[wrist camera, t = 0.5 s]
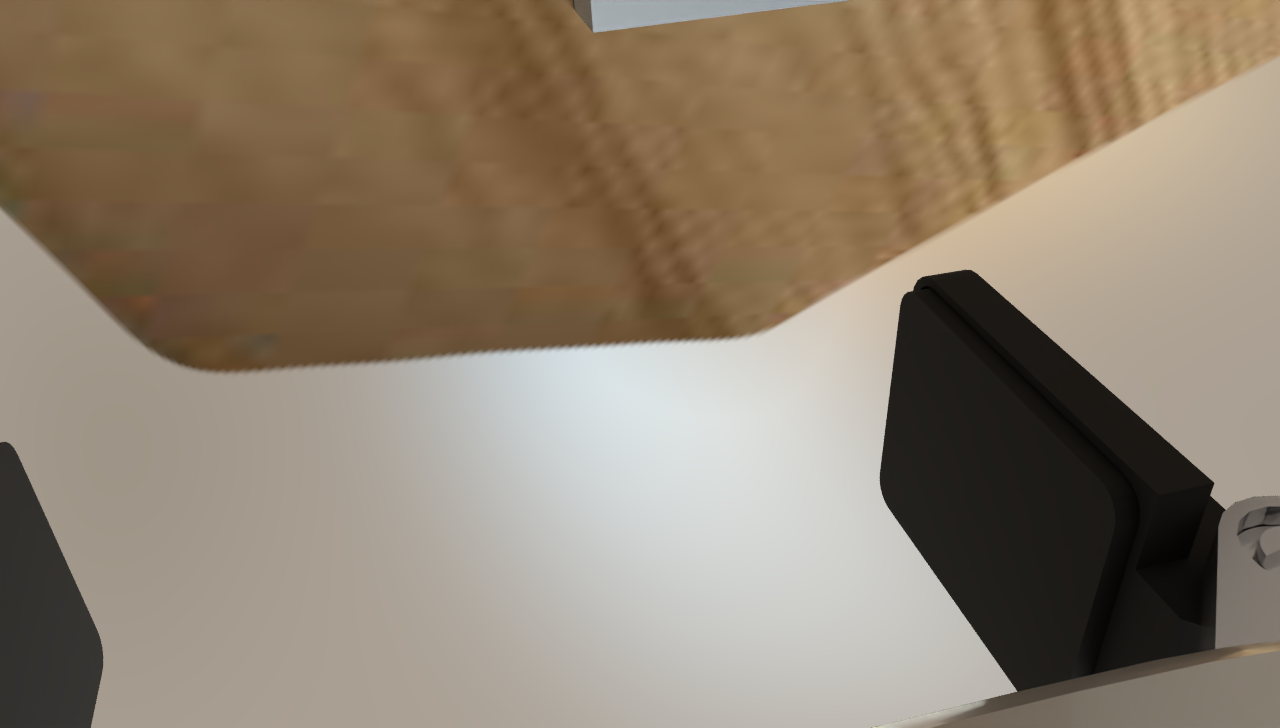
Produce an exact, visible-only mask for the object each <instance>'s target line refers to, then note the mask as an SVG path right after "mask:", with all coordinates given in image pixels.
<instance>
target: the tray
mask: <svg viewBox="0 0 1280 728" xmlns="http://www.w3.org/2000/svg"><path fill="white" fill-rule="evenodd" d="M839 1H847V0H574V5H575V11H576V12H577V14H578V15H579V16H580V17H581V18H582V20H583V21H584V22H585V23H586V25H587V26H588V27H589V28H590V29H591V31H592V32H593V33H594V32H602V31H610V30H618V29H626V28H634V27H642V26H650V25H657V24H665V23H673V22H681V21H689V20H697V19H705V18H713V17H721V16H728V15H736V14H744V13H752V12H760V11H768V10H776V9H784V8H792V7H799V6H807V5H815V4H823V3H831V2H839Z"/></svg>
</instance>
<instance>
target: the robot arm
mask: <svg viewBox="0 0 1280 728" xmlns="http://www.w3.org/2000/svg"><path fill="white" fill-rule="evenodd" d="M1213 485H1214V482H1213V481H1212V480H1210V479H1209V478H1208V477H1207V476H1206V475H1205V474H1204V473H1202V472H1201V471H1200V470H1199V469H1198V468H1197V467H1195V466H1194V465H1193V464H1192V463H1191V462H1190V461H1189V460H1188V459H1187V458H1185V457H1184V456H1183V455H1182V454H1181V453H1180V452H1179V451H1178V450H1176V449H1175V448H1174V447H1173V446H1172V445H1171V444H1170V443H1168V442H1167V441H1166V440H1165V439H1164V438H1163V437H1162V436H1161V435H1159V434H1158V433H1157V432H1156V431H1155V430H1154V429H1153V428H1151V427H1150V426H1149V425H1148V424H1147V423H1146V422H1145V421H1143V420H1142V419H1141V418H1140V417H1139V416H1138V415H1137V414H1136V413H1134V412H1133V411H1132V410H1131V409H1130V408H1129V407H1128V406H1126V405H1125V404H1124V403H1123V402H1122V401H1121V400H1120V399H1119V398H1117V397H1116V396H1115V395H1114V394H1113V393H1112V392H1111V391H1109V390H1108V389H1107V388H1106V387H1105V386H1104V385H1102V384H1101V383H1100V382H1099V381H1098V380H1097V379H1096V378H1095V377H1094V376H1092V375H1091V374H1090V373H1089V372H1088V371H1087V370H1086V369H1085V368H1083V367H1082V366H1081V365H1080V364H1079V363H1078V362H1077V361H1075V360H1074V359H1073V358H1072V357H1071V356H1070V355H1069V354H1068V353H1066V352H1065V351H1064V350H1063V349H1062V348H1060V346H1058V345H1057V344H1056V343H1055V342H1054V341H1053V340H1052V339H1050V338H1049V337H1048V336H1047V335H1046V334H1045V333H1044V332H1042V331H1041V330H1040V329H1039V328H1038V327H1037V326H1036V325H1035V324H1033V323H1032V322H1031V321H1030V320H1029V319H1028V318H1027V317H1025V316H1024V315H1023V314H1022V313H1021V312H1020V311H1018V310H1017V309H1016V308H1015V307H1014V306H1013V305H1012V304H1011V303H1010V302H1009V301H1007V300H1006V299H1005V298H1004V297H1003V296H1002V295H1000V294H999V293H998V292H997V291H996V290H995V289H994V288H993V287H991V286H990V285H989V284H988V283H987V282H986V281H985V280H984V279H982V278H981V277H980V276H979V275H978V274H977V273H975V272H973V271H972V270H962V271H956V272H950V273H943V274H938V275H932V276H925V277H922V278H920V279H919V280H918V281H917V283H916V285H915V286H914V290H913V291H911V292H907V293H906V294H905V295H904V296H903V298H902V301H901V305H900V313H899V322H898V331H897V338H896V346H895V355H894V363H893V371H892V379H891V387H890V396H889V404H888V412H887V420H886V428H885V436H884V446H883V453H882V462H881V470H880V486H881V491H882V495H883V498H884V500H885V503H886V504H887V506H888V508H889V509H890V510H891V512H892V513H893V515H894V516H895V518H896V519H897V521H898V522H899V524H900V525H901V526H902V528H903V529H904V531H905V532H906V533H907V535H908V536H909V538H910V539H911V540H912V542H913V543H914V545H915V546H916V548H917V549H918V550H919V552H920V553H921V555H922V556H923V558H924V559H925V560H926V562H927V563H928V565H929V566H930V568H931V569H932V570H933V572H934V573H935V575H936V576H937V578H938V579H939V580H940V582H941V583H942V585H943V586H944V587H945V589H946V590H947V592H948V593H949V595H950V596H951V597H952V599H953V600H954V602H955V603H956V605H957V606H958V607H959V609H960V610H961V612H962V613H963V614H964V616H965V617H966V619H967V620H968V621H969V623H970V624H971V626H972V627H973V629H974V630H975V632H977V634H978V636H979V637H980V639H981V640H982V641H983V643H984V644H985V646H986V647H987V648H988V650H989V651H990V653H991V654H992V656H993V657H994V658H995V660H996V661H997V663H998V664H999V666H1000V667H1001V668H1002V670H1003V671H1004V673H1005V674H1006V676H1007V677H1008V678H1009V680H1010V681H1011V683H1012V684H1013V685H1014V687H1015V688H1016V690H1017V691H1018V692H1014V693H1010V694H1007V695H1002V696H998V697H995V698H990V699H986V700H982V701H978V702H974V703H970V704H966V705H962V706H958V707H954V708H950V709H946V710H942V711H938V712H933V713H930V714H925V715H922V716H917V717H914V718H909V719H906V720H901V721H897V722H893V723H889V724H885V725H881V726H877V727H873V728H1280V496H1261V497H1251V498H1248V499H1245V500H1242V501H1239V502H1235V503H1234V504H1233V505H1231V506H1230V507H1229V508H1228V509H1227V510H1225V509H1224V508H1223V507H1222V506H1221V505H1220V504H1219V503H1218V502H1216V501H1215V500H1214V499H1213V498H1212V497H1211V496H1210V494H1211V491H1212V488H1213ZM102 669H103V651H102V644H101V640H100V636H99V634H98V631H97V629H96V627H95V624H94V622H93V620H92V618H91V616H90V613H89V611H88V609H87V607H86V605H85V603H84V600H83V598H82V596H81V593H80V591H79V589H78V587H77V585H76V583H75V580H74V578H73V576H72V574H71V571H70V569H69V567H68V565H67V563H66V560H65V558H64V556H63V554H62V552H61V549H60V547H59V545H58V543H57V540H56V539H55V536H54V534H53V532H52V529H51V527H50V525H49V523H48V521H47V518H46V516H45V514H44V512H43V510H42V507H41V505H40V503H39V501H38V499H37V496H36V494H35V492H34V490H33V488H32V485H31V483H30V481H29V479H28V476H27V474H26V472H25V470H24V468H23V466H22V463H21V461H20V459H19V457H18V455H17V453H16V451H15V449H14V448H13V447H12V446H11V445H10V444H9V443H7V442H1V443H0V728H91V723H92V718H93V714H94V709H95V704H96V699H97V694H98V690H99V685H100V680H101V675H102Z"/></svg>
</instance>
